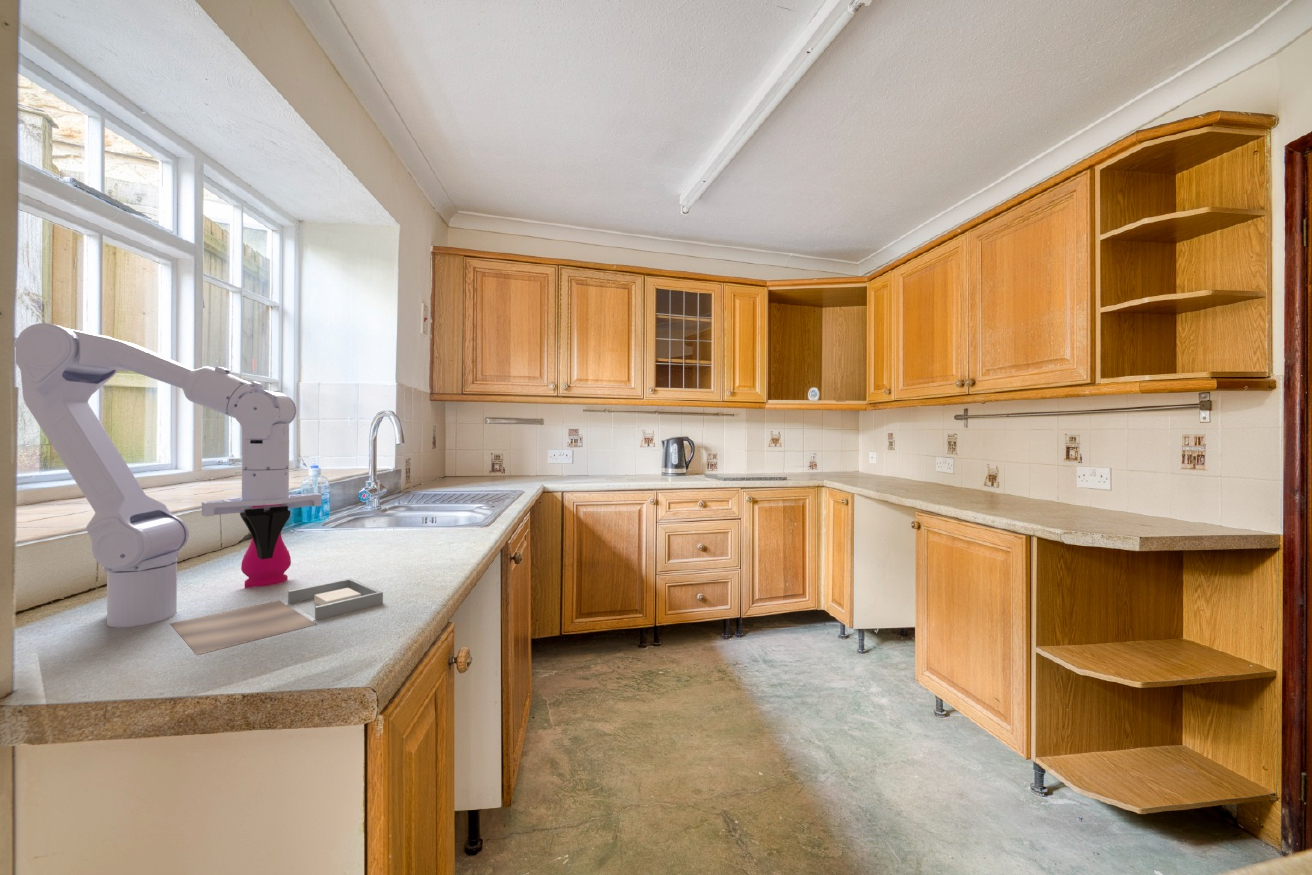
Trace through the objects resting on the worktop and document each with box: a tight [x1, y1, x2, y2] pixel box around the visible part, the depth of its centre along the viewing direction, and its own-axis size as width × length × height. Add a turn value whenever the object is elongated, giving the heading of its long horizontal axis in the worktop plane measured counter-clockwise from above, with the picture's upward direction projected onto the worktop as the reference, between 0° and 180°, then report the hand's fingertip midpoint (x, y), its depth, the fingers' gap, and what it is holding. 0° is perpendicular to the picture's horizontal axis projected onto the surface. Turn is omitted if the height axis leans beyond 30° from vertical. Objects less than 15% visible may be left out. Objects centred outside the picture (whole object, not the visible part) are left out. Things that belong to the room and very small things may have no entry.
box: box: [283, 577, 384, 622], centre depth 82 cm, size 12×10×3 cm
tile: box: [313, 588, 361, 606], centre depth 82 cm, size 5×5×2 cm
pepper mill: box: [240, 504, 292, 589], centre depth 93 cm, size 7×7×20 cm
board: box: [170, 600, 318, 656], centre depth 73 cm, size 16×13×1 cm
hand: (265, 557), depth 78 cm, fingers closed
